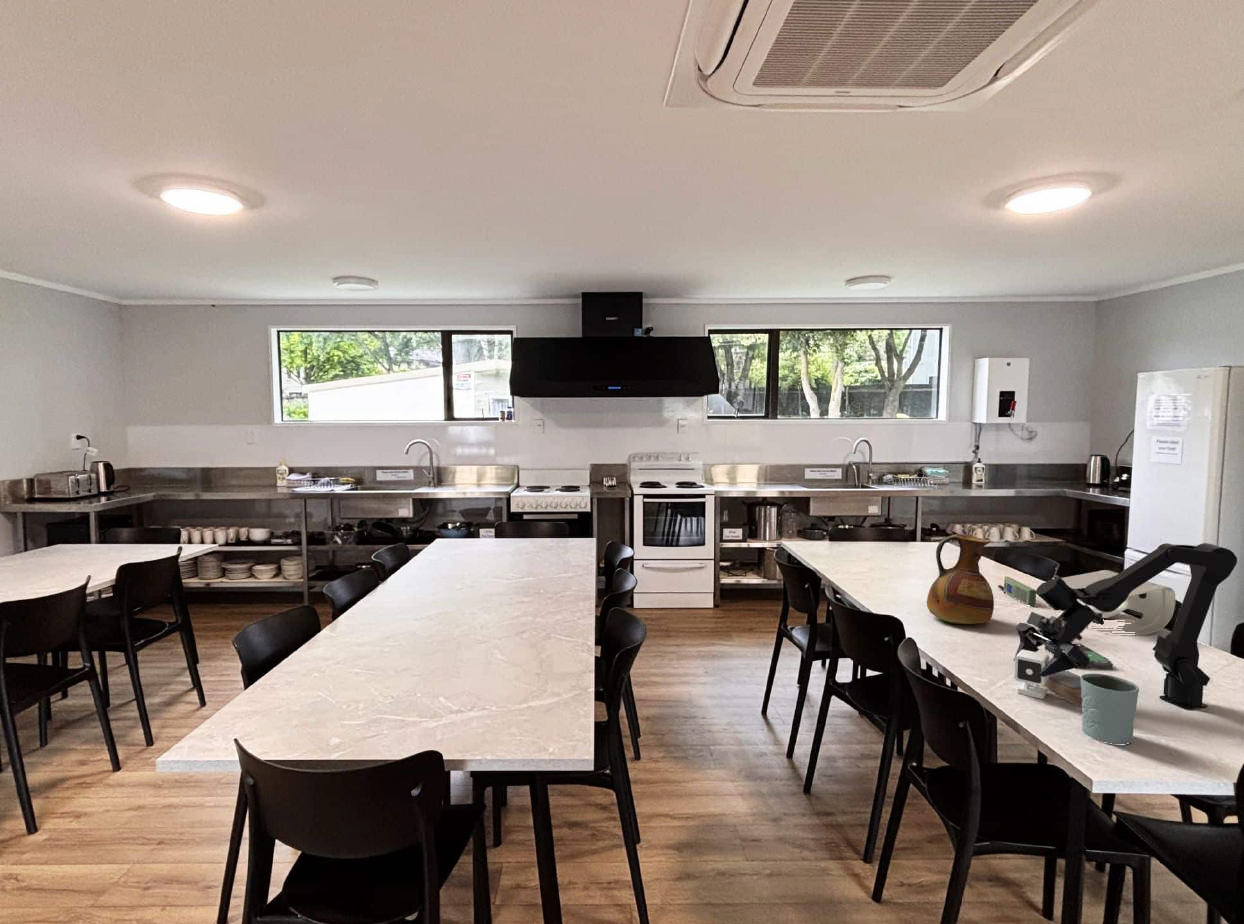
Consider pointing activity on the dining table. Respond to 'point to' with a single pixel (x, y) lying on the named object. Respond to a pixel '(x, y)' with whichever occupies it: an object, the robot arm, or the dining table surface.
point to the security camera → (1031, 673)
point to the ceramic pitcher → (962, 585)
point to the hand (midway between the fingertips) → (1027, 668)
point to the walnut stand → (1065, 686)
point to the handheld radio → (1019, 591)
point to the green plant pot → (1108, 707)
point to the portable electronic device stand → (1134, 603)
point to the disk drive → (1091, 658)
